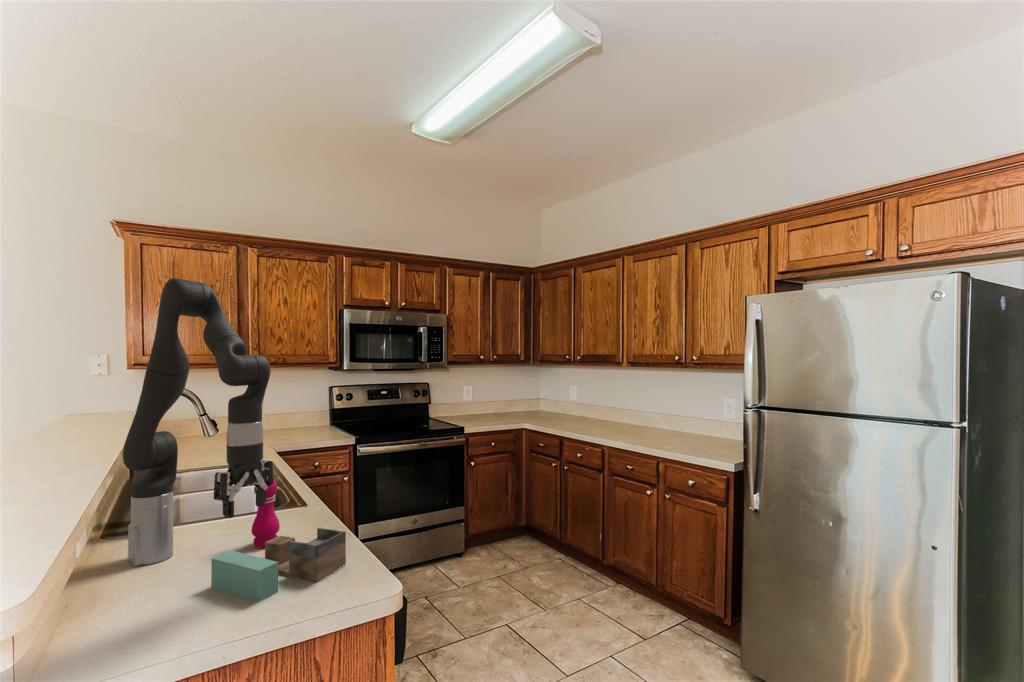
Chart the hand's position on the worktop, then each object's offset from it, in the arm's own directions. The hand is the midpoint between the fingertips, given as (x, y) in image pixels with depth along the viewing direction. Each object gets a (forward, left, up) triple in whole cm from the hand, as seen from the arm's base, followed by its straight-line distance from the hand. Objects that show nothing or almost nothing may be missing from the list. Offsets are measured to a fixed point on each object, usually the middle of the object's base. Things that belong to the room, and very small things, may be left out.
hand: (245, 511), depth 118 cm
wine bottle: (-4, +62, -18) cm, 65 cm away
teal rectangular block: (0, 0, -18) cm, 18 cm away
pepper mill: (+15, +24, -18) cm, 34 cm away
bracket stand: (+14, +3, -18) cm, 23 cm away
